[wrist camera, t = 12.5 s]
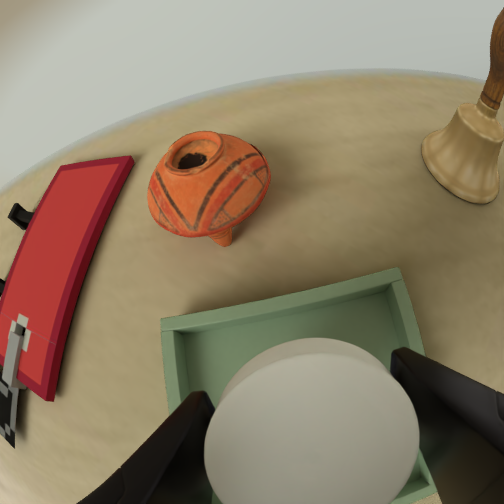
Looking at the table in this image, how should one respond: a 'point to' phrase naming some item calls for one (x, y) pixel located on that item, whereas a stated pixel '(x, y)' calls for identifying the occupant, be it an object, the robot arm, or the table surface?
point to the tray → (292, 328)
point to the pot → (207, 185)
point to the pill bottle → (311, 429)
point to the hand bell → (472, 136)
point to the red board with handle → (51, 277)
